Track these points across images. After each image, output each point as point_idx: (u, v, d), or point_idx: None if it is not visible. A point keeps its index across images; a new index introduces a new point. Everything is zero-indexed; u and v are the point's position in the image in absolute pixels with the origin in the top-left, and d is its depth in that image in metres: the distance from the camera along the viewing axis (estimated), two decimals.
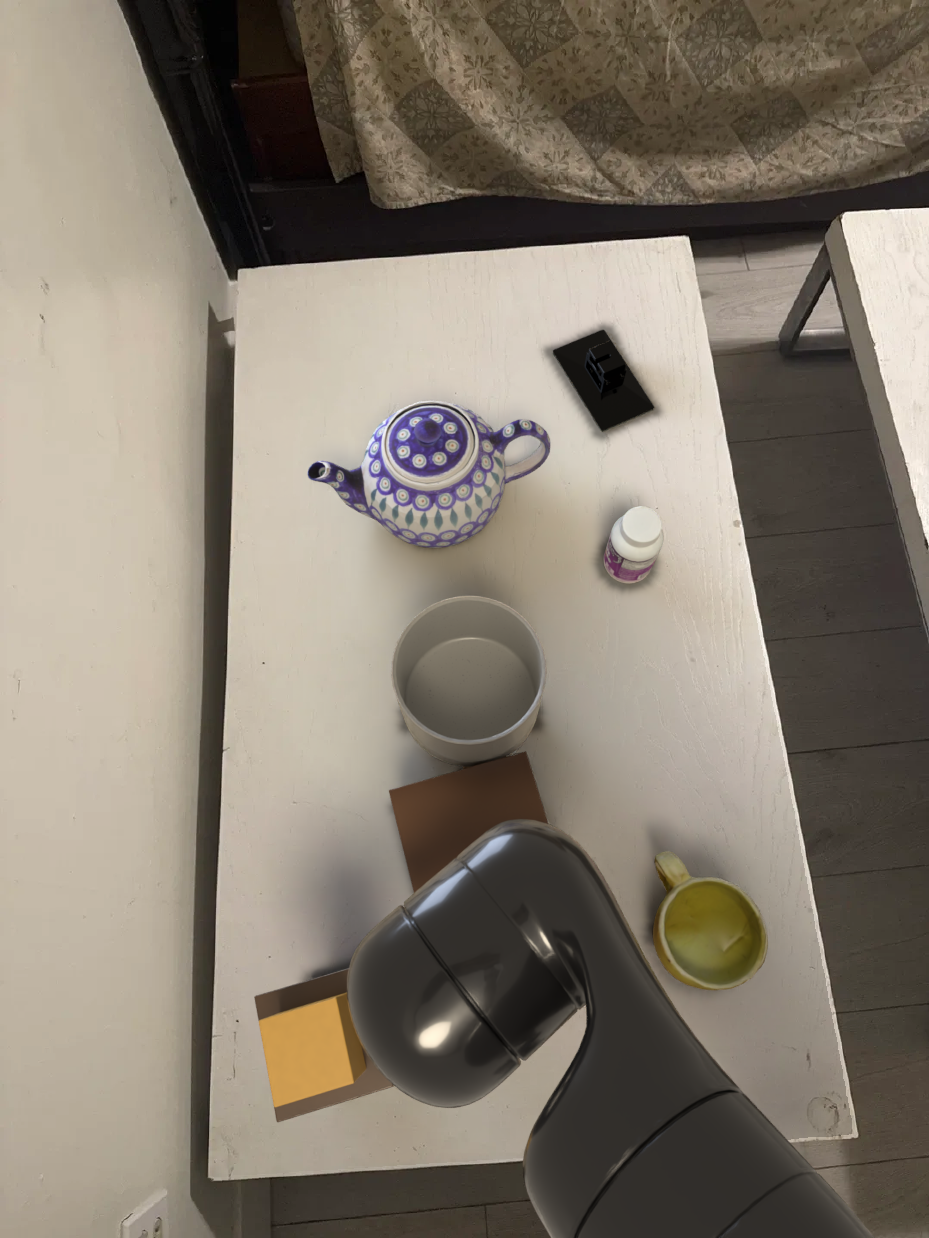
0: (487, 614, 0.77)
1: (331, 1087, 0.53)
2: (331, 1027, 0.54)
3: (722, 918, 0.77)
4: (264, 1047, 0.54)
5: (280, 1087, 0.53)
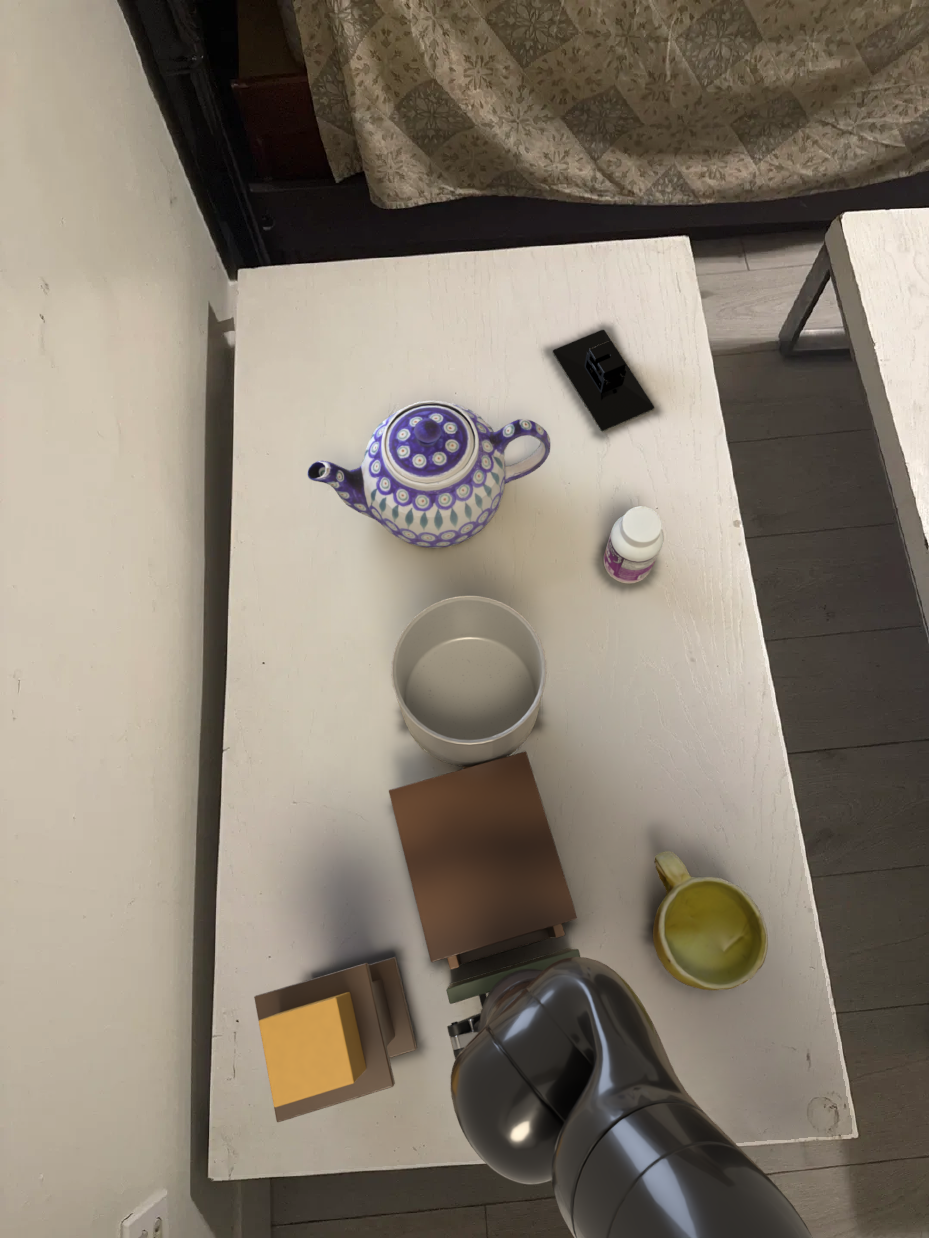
0: (487, 614, 0.77)
1: (331, 1087, 0.53)
2: (331, 1027, 0.54)
3: (722, 918, 0.77)
4: (264, 1047, 0.54)
5: (280, 1087, 0.53)
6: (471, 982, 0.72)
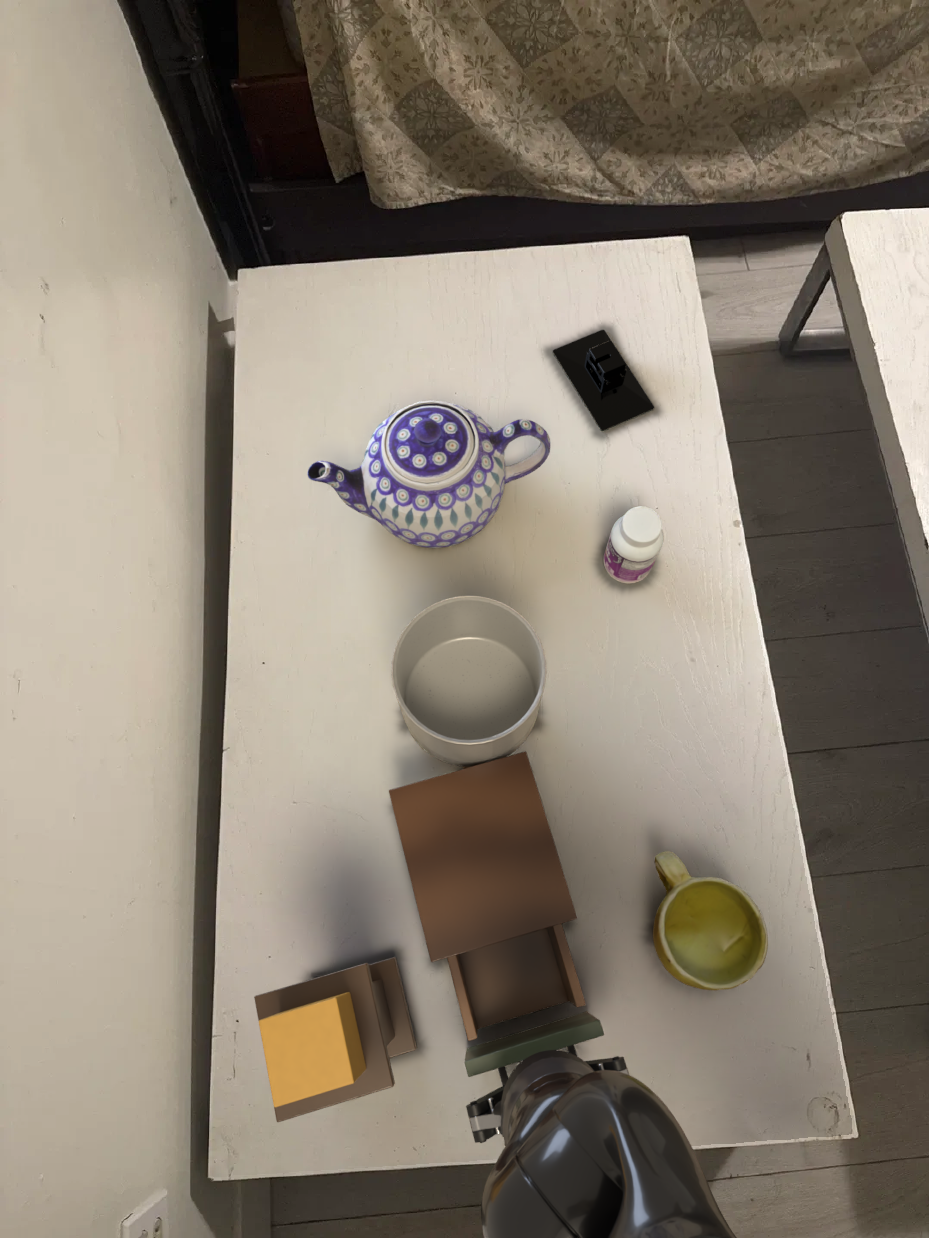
0: (487, 614, 0.77)
1: (331, 1087, 0.53)
2: (331, 1027, 0.54)
3: (722, 918, 0.77)
4: (264, 1047, 0.54)
5: (280, 1087, 0.53)
6: (490, 1054, 0.70)
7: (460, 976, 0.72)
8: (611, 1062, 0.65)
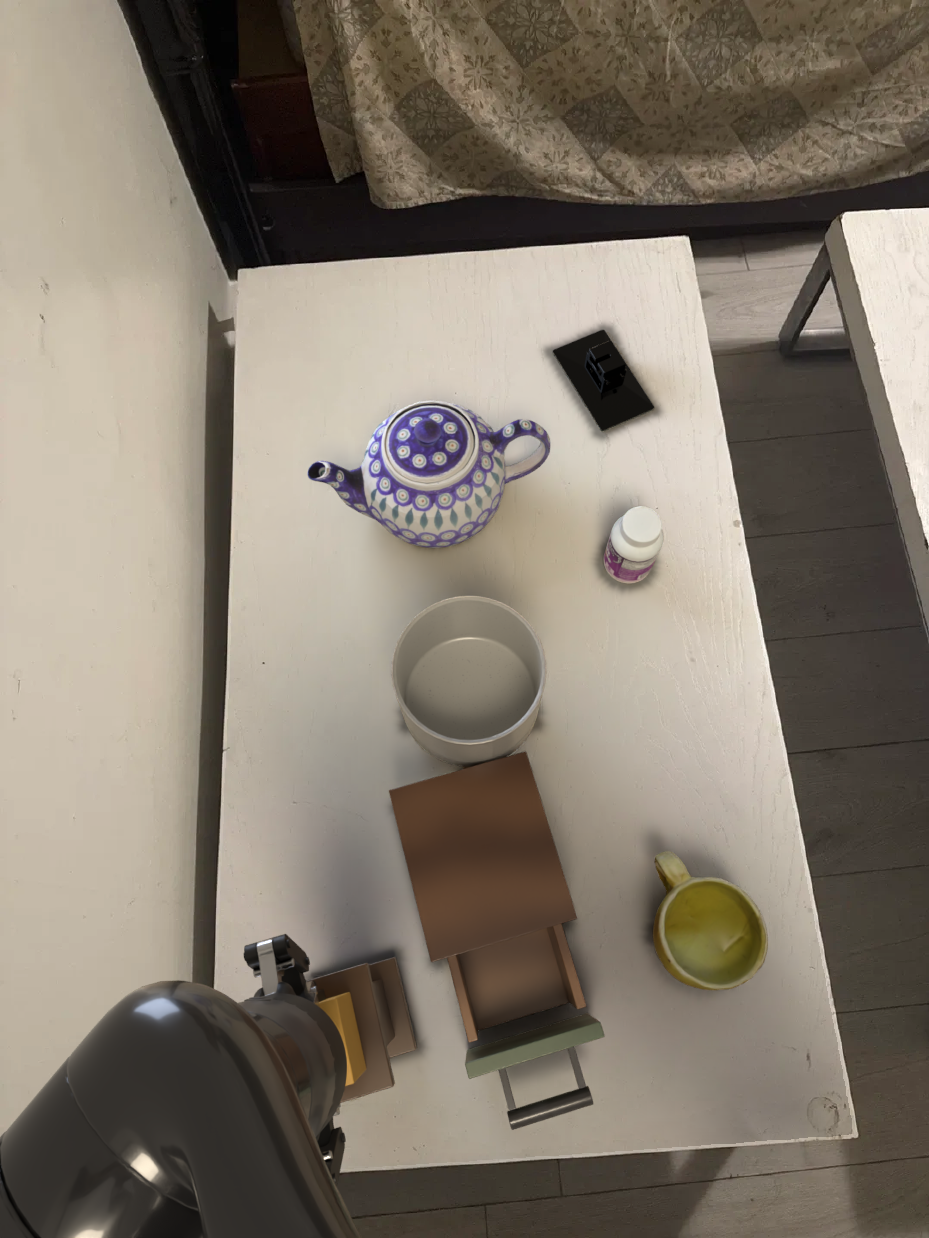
0: (487, 614, 0.77)
1: None
2: None
3: (722, 918, 0.77)
4: None
5: None
6: (490, 1056, 0.70)
7: (460, 978, 0.72)
8: (329, 1168, 0.47)
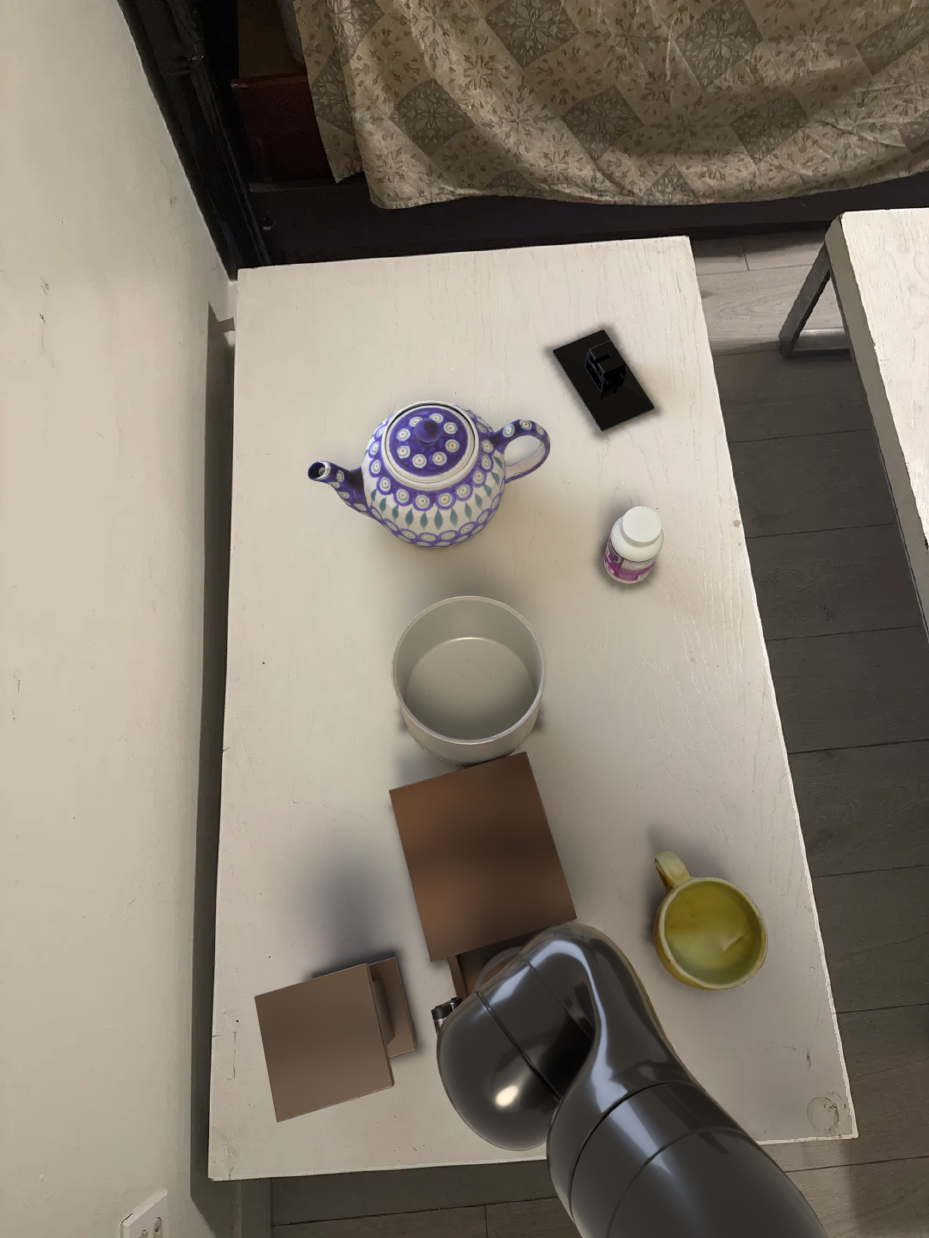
0: (487, 614, 0.77)
1: None
2: None
3: (722, 918, 0.77)
4: None
5: None
6: None
7: (461, 979, 0.72)
8: None
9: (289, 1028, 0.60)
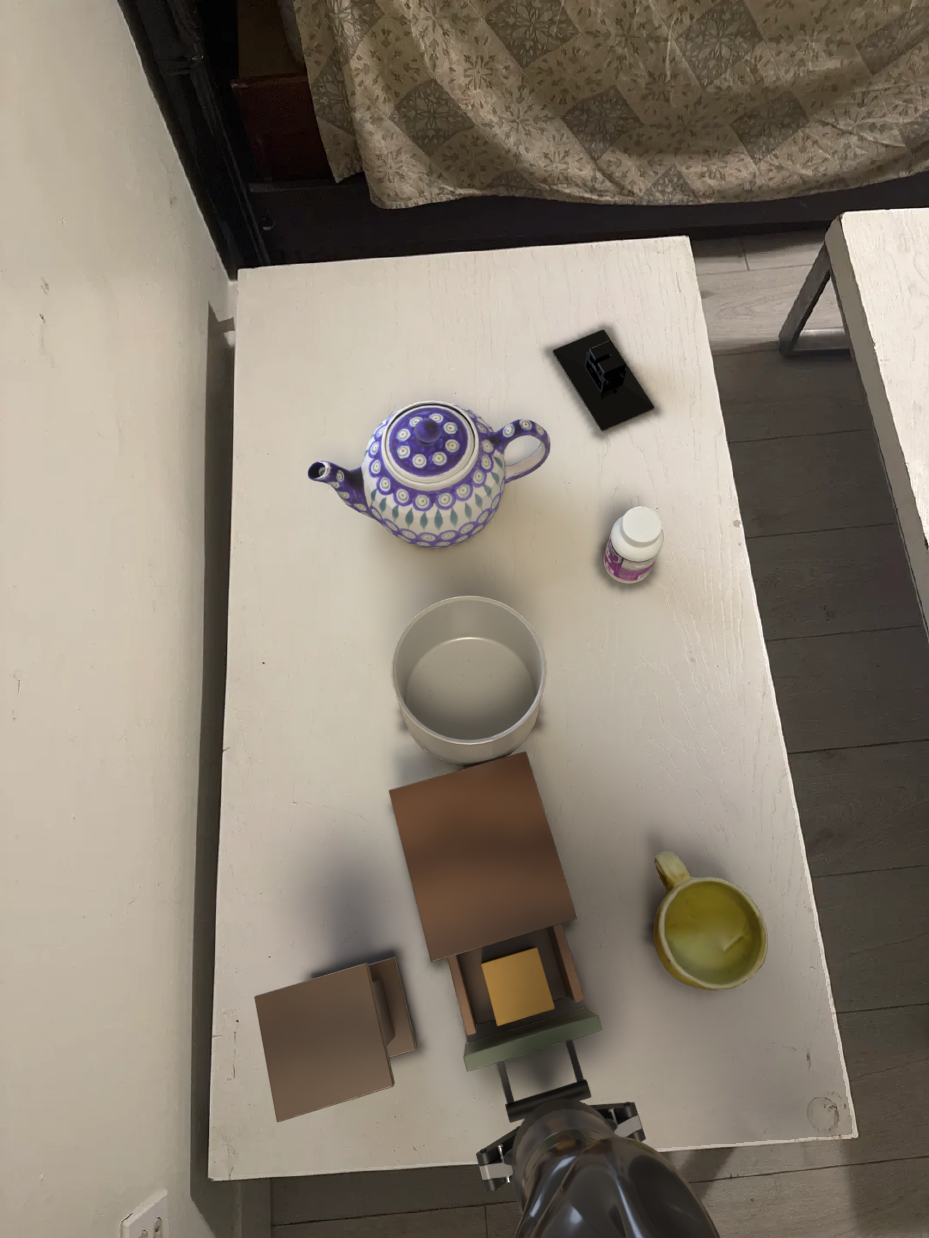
0: (487, 614, 0.77)
1: (540, 964, 0.74)
2: (501, 966, 0.74)
3: (722, 918, 0.77)
4: (515, 1019, 0.72)
5: (542, 1004, 0.73)
6: (488, 1049, 0.70)
7: (459, 971, 0.72)
8: (622, 1108, 0.64)
9: (289, 1028, 0.60)
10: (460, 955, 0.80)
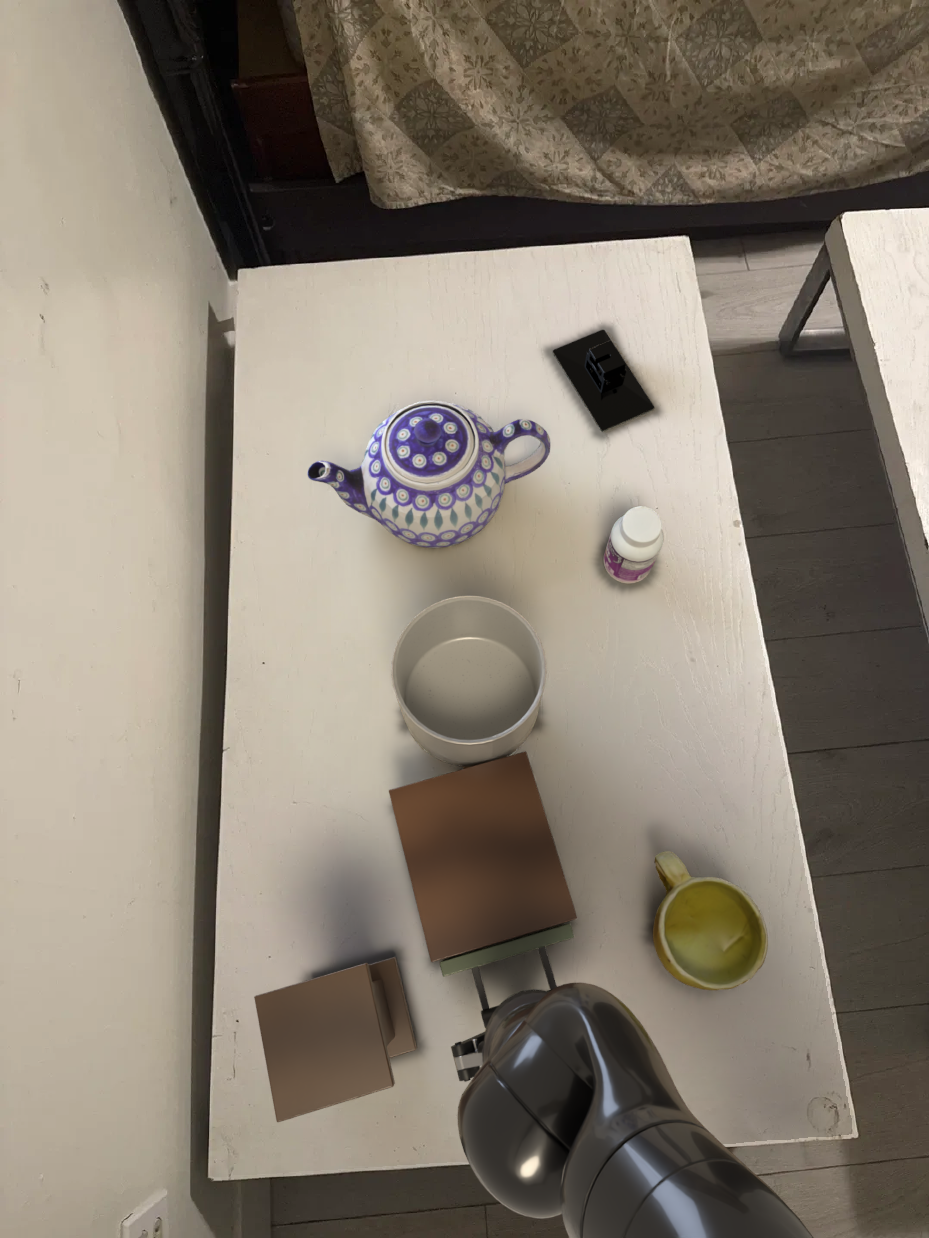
0: (487, 614, 0.77)
1: None
2: None
3: (722, 918, 0.77)
4: None
5: None
6: (464, 955, 0.72)
7: None
8: None
9: (289, 1028, 0.60)
10: None
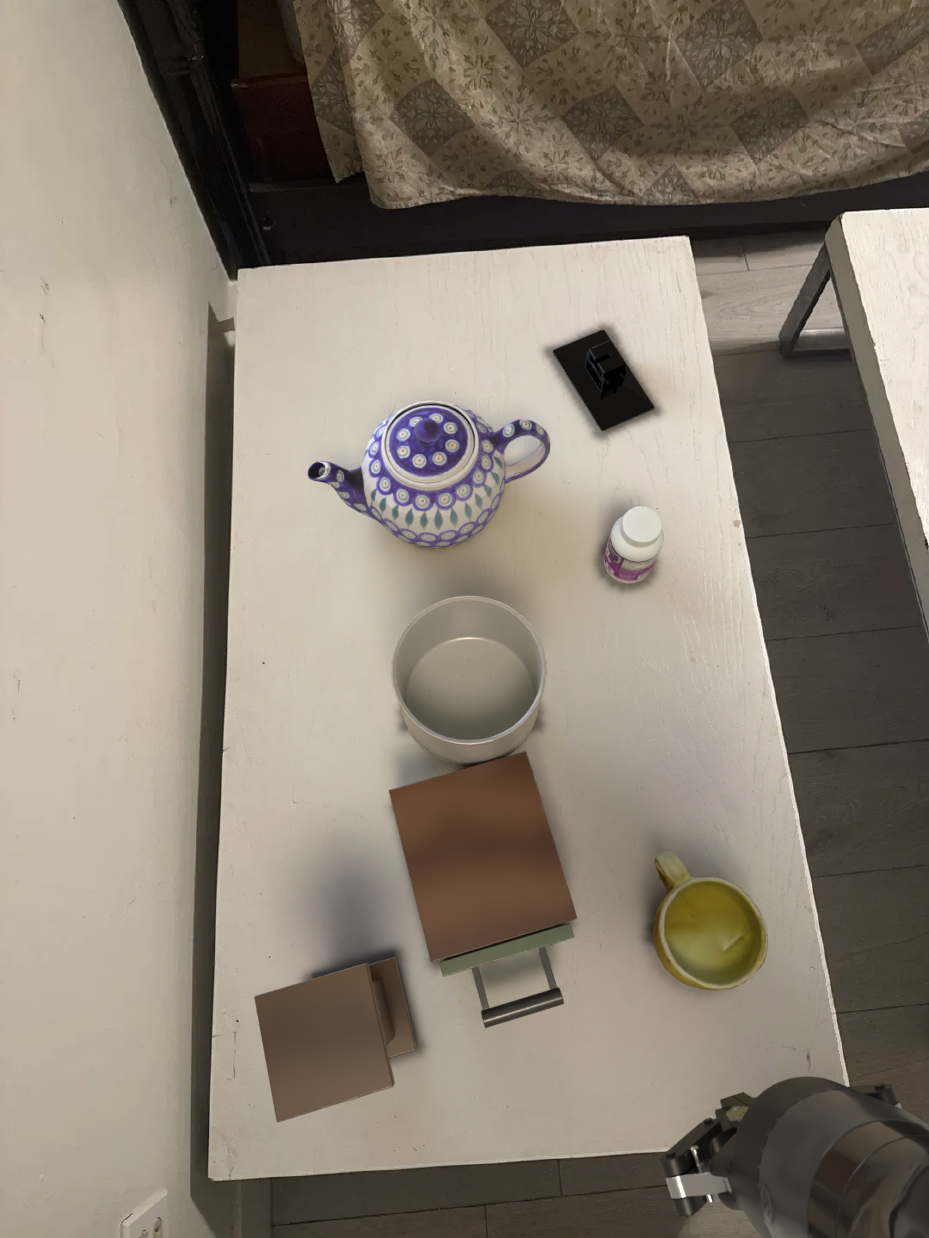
0: (488, 614, 0.77)
1: None
2: None
3: (722, 918, 0.77)
4: None
5: None
6: (464, 955, 0.72)
7: None
8: (875, 1093, 0.43)
9: (289, 1028, 0.60)
10: None
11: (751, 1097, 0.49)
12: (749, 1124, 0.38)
